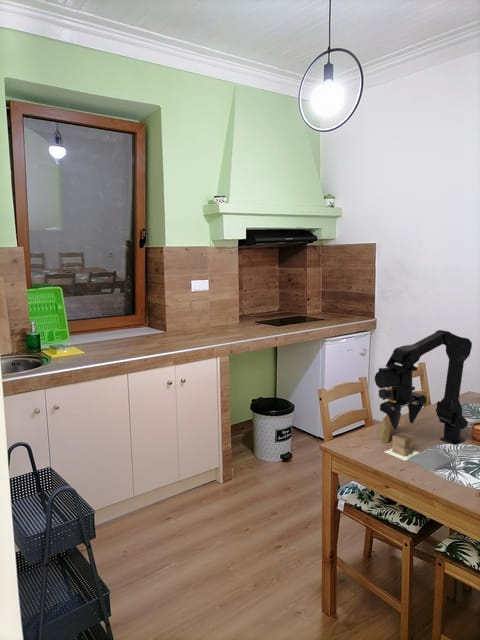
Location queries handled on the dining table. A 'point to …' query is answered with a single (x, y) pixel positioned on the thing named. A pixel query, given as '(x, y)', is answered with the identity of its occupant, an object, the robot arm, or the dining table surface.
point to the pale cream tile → (400, 455)
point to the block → (402, 444)
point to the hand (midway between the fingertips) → (403, 426)
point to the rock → (385, 429)
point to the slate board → (431, 460)
